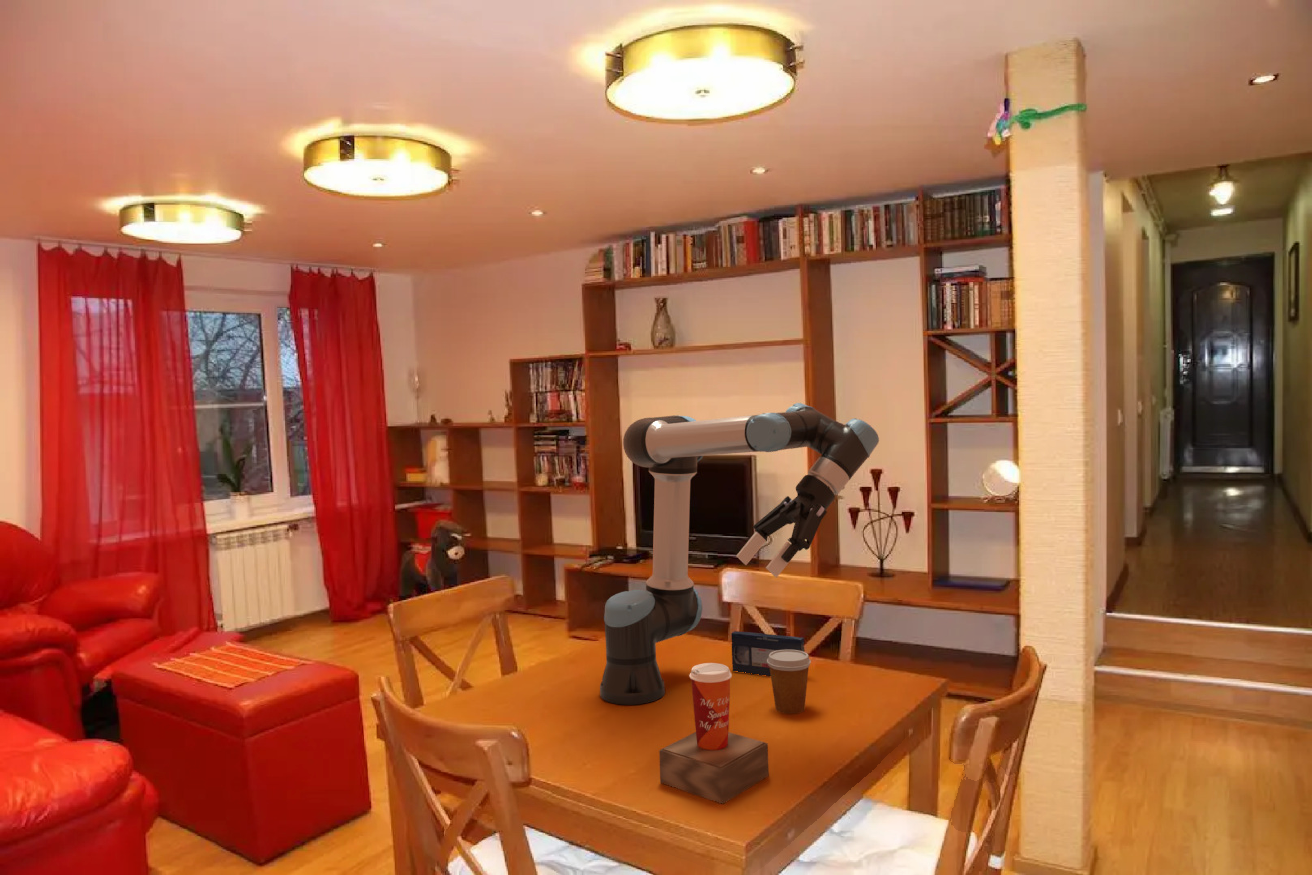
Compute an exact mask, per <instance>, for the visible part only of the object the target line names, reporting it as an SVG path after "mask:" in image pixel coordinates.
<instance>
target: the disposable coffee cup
mask: <svg viewBox="0 0 1312 875" xmlns="http://www.w3.org/2000/svg"><path fill="white" fill-rule="evenodd" d="M811 660H812V659H810V656H809V654H808V653H807V652H803V651H799V650H777V651H774V652H771V653H770V654H769V657H768V659H767V663H768V665H769V668H770V674H771V677H770V680H771V686H772V693H773V699H774V700H773V701H774V706H775V710H776V711H777V712H778V713H781V714H787V715H794V714H800V713H803V712H804V711H805V708H806V699H807V698H806V697H807V690H808V689H807V688H808V687H807V686H808V676H809V667H810V665H811V662H812V661H811Z"/></svg>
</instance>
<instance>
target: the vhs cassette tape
mask: <svg viewBox="0 0 1312 875" xmlns="http://www.w3.org/2000/svg"><path fill="white" fill-rule="evenodd" d="M777 650H799V651H803V652H805V637H798V636H792V635H790V636H789V635H782V634H781V635H779V634H769V633H768V634H767V633H759V632H748V631H737V630H734V631H733V632H731V662H732V664H731V665H732V672H733V671H738V672H744V673H743V674H746V673H750V674H749V675H754V674H759V675H758V676H762V675H766V676H765V677H770V676H771V674H770V668H769V665H768V663H767V659H768V657H769V654H770V653H771V652H774V651H777ZM805 653H806V652H805ZM738 672H737V673H738ZM745 672H746V673H745ZM751 673H752V674H751Z"/></svg>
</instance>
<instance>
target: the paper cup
mask: <svg viewBox="0 0 1312 875" xmlns="http://www.w3.org/2000/svg"><path fill="white" fill-rule="evenodd" d="M688 676H689V678H690V680H691V692H692V703H693V715H694V717H693V718H694V723H695V724H694V726H695V728H694V729H695V732H696V738H697V745H698V747H700V748H701V749H705V750H720V749H723V748H725V747H726V746H727V745H728V732H729V726H730V724H729V723H730V695H731V692H730V691H731V678H732V676H733V675H732V672H731V670H730V669H729V667H728V666H727V665H725V664H723V663H717V662H705V663H699V664H696V665H694V666H692V668H691V672H690V673H689V674H688Z"/></svg>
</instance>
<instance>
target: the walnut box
mask: <svg viewBox="0 0 1312 875" xmlns="http://www.w3.org/2000/svg"><path fill="white" fill-rule="evenodd" d="M768 748H769V743H767V742H765V741H761V740H758V739H755V738H750V737H747V736H744V735H740V734H737V733H733V732H729V731H728V745H727V746H726V747H725V748H723V749H720V750H705V749H701V748H700V747H698V745H697V738H696V731H695V732H693V733H691V734H689V735H686V736H685V737H683V738H681V739H679V740H677V741H674V742H673V743H670V744H669V745H667V746H665V747H663V748H661V749H659V750H658V752H659V777H660V778H659V779H660V784H663V783H665V784H664V785H666V784H667V786H668V785H669V786H668V787H671V786H672V788H674V787H676V788H675V789H677V788H678V790H680V789H681V791H683V792H686V791H687V792H686V793H688V794H692V795H695V796H697V795H698V797H700V796H701V798H704V799H707V800H710V801H712V800H714V801H713V802H715V801H717V802H716V803H718V802H719V803H718V804H721V803H722V804H721V805H724V804H726V803H727V802H729V801H730V800H732V799H733V797H734V798H735V797H737V796H738V795H740V794H742V793H743V792H745V791H746V790H748V789H749V787H750V788H752V787H754V785H756V784H758V783H759V782H760V780H761V781H762V780H764V779H766V778H768V777H769V776H768V775H769V749H768ZM763 778H764V779H763ZM755 783H756V784H755ZM741 792H742V793H741ZM736 795H737V796H736ZM731 798H732V799H731ZM728 800H729V801H728ZM726 801H727V802H726ZM725 802H726V803H725ZM723 803H724V804H723Z"/></svg>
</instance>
